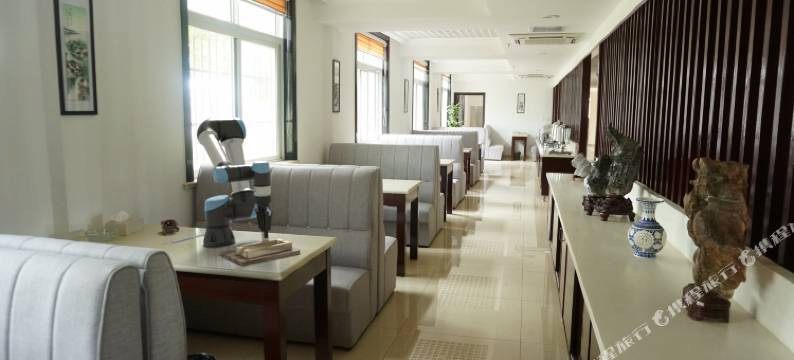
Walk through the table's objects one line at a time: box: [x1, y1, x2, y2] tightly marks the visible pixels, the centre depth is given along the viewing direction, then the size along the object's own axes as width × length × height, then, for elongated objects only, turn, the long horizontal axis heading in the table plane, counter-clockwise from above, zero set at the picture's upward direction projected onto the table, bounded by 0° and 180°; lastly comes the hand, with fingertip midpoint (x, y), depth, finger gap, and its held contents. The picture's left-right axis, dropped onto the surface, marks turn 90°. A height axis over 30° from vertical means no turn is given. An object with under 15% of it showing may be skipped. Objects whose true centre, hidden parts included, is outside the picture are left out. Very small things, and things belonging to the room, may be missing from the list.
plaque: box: [169, 232, 205, 245], centre depth 286 cm, size 33×10×1 cm, turn 149°
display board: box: [218, 247, 301, 267], centre depth 251 cm, size 24×28×2 cm
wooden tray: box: [234, 237, 293, 258], centre depth 249 cm, size 12×22×3 cm, turn 134°
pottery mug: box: [160, 218, 180, 235], centre depth 300 cm, size 12×10×8 cm
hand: (265, 244), depth 258 cm, fingers closed
